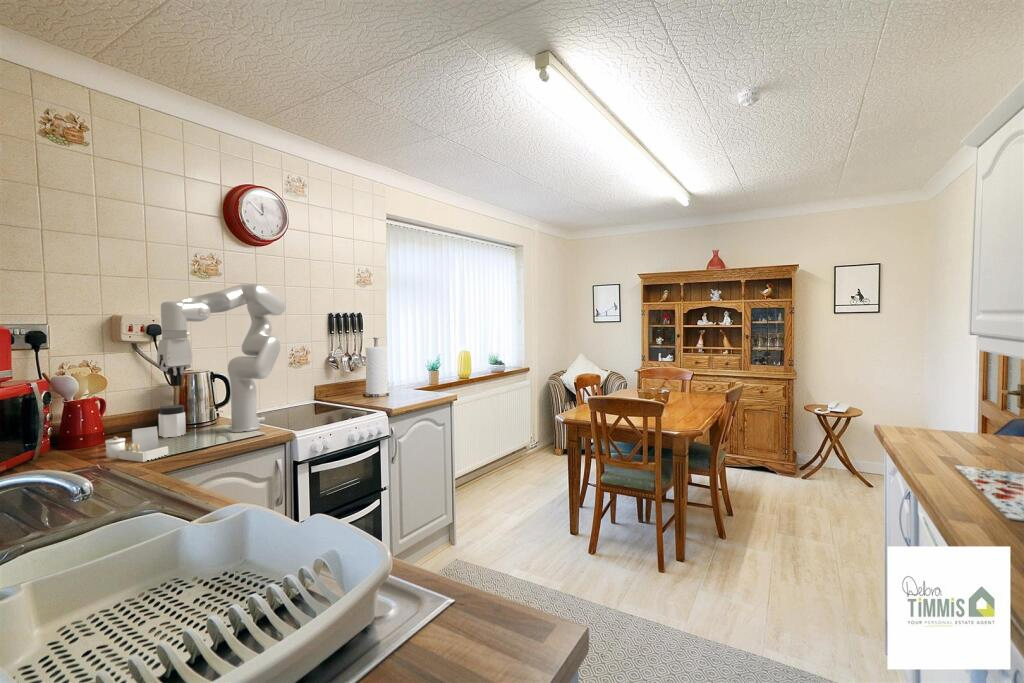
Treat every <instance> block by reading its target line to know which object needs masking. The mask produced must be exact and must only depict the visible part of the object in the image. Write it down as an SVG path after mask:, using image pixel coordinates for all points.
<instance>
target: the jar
mask: <svg viewBox="0 0 1024 683" xmlns="http://www.w3.org/2000/svg"><path fill="white" fill-rule="evenodd" d="M158 409H159V410H158V411H159V413H158V437H159V436H162V437H175V436H180V437H182V436H181V435H183V436H185V435H184V434H187V431H186V429H187V428H186V427H187V426H186V424H187V423H186V412H185V406H184V405H183V404H171V405H164V406H159V408H158ZM175 438H176V437H175Z"/></svg>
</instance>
